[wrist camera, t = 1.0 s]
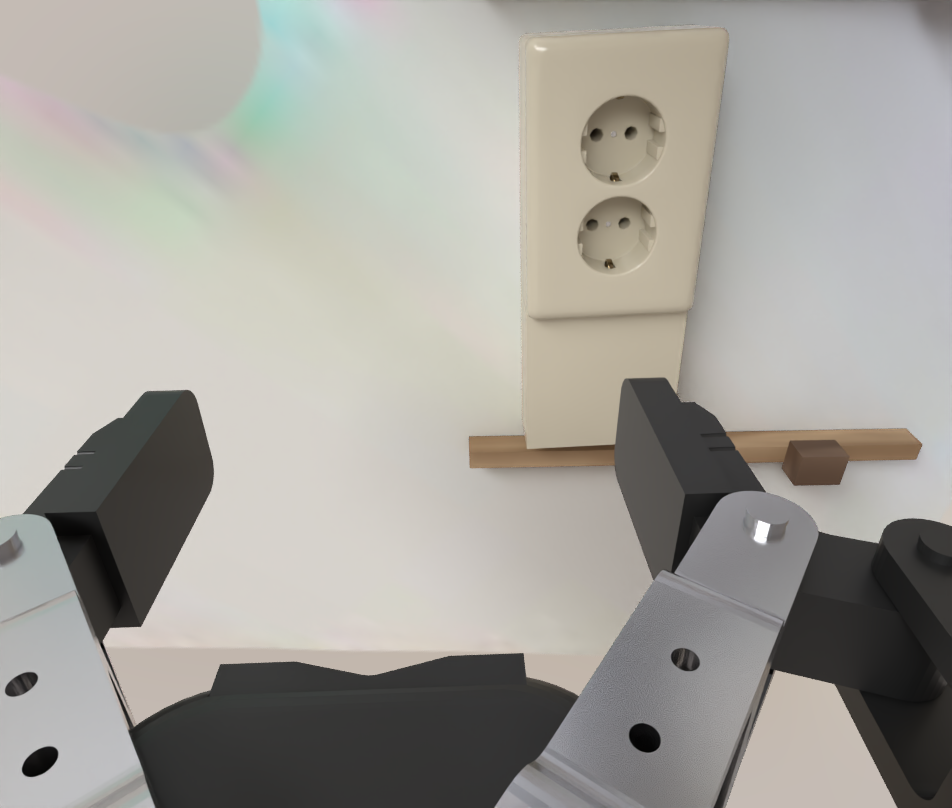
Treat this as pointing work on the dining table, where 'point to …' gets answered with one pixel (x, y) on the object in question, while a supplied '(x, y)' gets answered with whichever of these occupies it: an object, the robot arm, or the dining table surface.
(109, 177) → the dining table surface
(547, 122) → the electrical outlet
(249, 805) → the robot arm
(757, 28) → the dining table surface
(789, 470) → the brown flat piece
